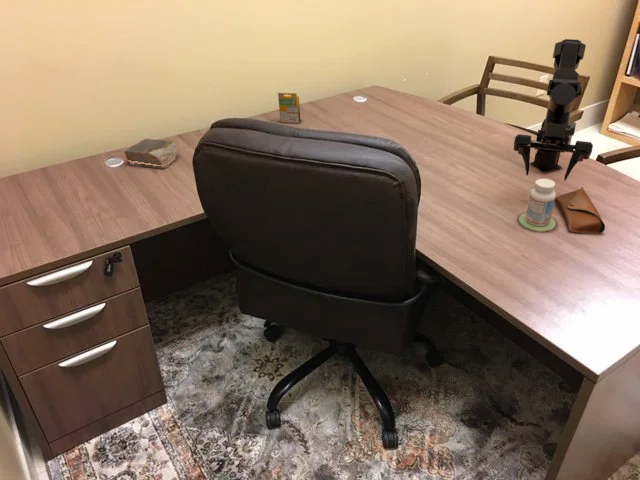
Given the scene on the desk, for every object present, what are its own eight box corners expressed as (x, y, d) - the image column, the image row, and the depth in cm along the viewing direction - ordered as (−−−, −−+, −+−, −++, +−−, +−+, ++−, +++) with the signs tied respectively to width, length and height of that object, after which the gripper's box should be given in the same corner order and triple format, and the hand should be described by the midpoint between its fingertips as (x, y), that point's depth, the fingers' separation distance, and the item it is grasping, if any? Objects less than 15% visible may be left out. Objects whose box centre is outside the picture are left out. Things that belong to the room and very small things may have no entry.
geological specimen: (141, 138, 185) (178, 139, 180) (146, 154, 188) (182, 156, 183) (122, 150, 177) (160, 152, 172) (127, 167, 180) (165, 169, 175)
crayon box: (300, 120, 205) (298, 90, 198) (298, 123, 202) (296, 93, 196) (282, 119, 206) (279, 90, 200) (280, 122, 204) (277, 92, 197)
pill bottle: (544, 213, 142) (552, 176, 136) (553, 226, 137) (562, 187, 131) (521, 215, 142) (529, 177, 136) (529, 227, 137) (538, 189, 131)
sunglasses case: (550, 196, 149) (567, 177, 145) (570, 207, 151) (587, 189, 147) (569, 232, 134) (589, 212, 131) (591, 244, 136) (611, 225, 132)
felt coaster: (539, 210, 144) (540, 209, 144) (563, 227, 137) (563, 225, 137) (511, 217, 142) (511, 216, 142) (533, 235, 135) (533, 233, 135)
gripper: (521, 104, 136) (509, 162, 134) (601, 112, 130) (590, 173, 128) (519, 122, 147) (508, 176, 145) (593, 130, 140) (583, 186, 138)
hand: (545, 177), depth 139 cm, fingers open, 9 cm apart
